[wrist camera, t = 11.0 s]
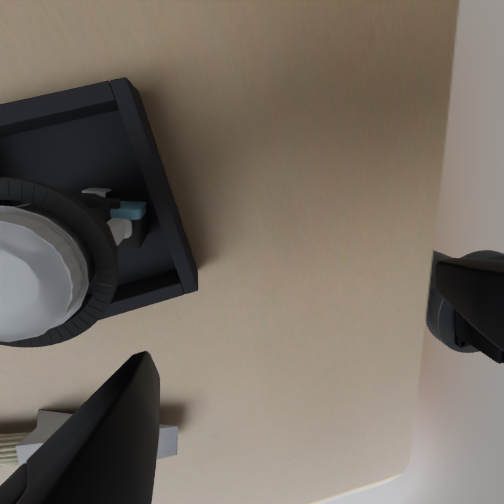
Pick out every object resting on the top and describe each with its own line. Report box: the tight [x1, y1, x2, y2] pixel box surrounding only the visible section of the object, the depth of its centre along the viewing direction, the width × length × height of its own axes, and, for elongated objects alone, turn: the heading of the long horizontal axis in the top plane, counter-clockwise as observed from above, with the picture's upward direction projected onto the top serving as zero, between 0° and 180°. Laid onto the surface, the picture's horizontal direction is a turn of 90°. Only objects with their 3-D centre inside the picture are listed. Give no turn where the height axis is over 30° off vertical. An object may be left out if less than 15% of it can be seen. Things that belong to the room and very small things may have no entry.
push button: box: [0, 177, 146, 347], centre depth 12 cm, size 7×5×10 cm
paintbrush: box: [0, 410, 178, 467], centre depth 20 cm, size 4×3×20 cm
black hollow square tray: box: [0, 77, 198, 320], centre depth 16 cm, size 9×11×3 cm
